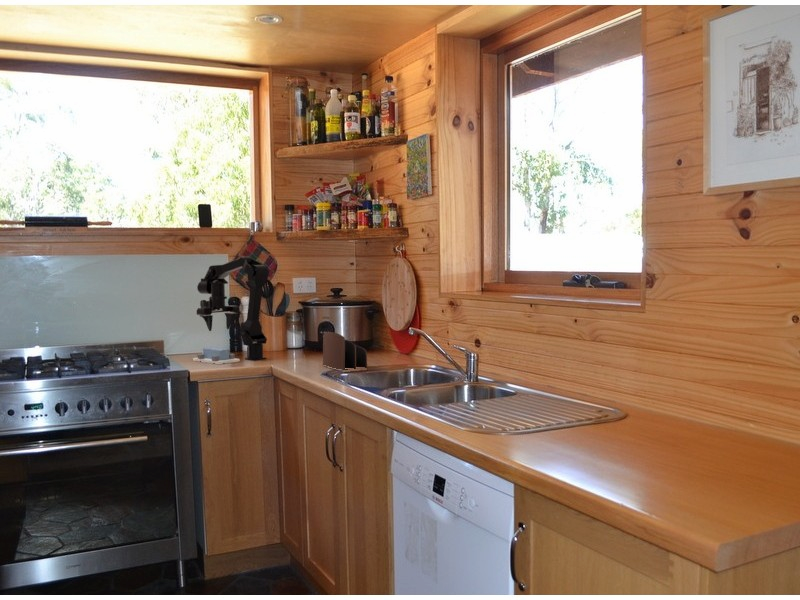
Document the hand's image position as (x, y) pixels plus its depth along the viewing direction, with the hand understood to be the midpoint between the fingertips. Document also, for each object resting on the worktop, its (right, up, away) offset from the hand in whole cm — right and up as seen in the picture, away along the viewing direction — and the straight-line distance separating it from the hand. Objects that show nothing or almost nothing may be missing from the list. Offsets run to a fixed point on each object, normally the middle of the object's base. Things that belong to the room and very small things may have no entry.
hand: (219, 330), depth 312 cm
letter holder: (+58, -13, -39) cm, 71 cm away
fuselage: (+3, -11, -16) cm, 20 cm away
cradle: (+3, -12, -16) cm, 20 cm away
